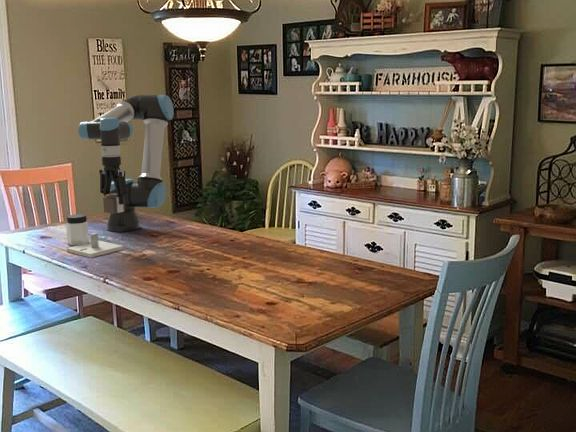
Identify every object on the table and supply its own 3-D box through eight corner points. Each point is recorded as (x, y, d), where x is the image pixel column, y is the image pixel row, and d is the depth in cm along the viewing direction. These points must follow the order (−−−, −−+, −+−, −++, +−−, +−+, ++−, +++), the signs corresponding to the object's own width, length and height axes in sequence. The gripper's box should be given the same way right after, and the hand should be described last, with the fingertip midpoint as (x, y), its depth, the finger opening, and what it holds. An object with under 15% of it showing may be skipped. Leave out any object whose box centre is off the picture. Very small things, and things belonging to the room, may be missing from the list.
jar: (91, 243, 282) (89, 216, 279) (73, 246, 277) (71, 218, 274) (83, 239, 289) (81, 213, 286) (65, 242, 284) (63, 215, 281)
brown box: (115, 209, 277) (114, 191, 275) (126, 211, 273) (125, 193, 271) (102, 212, 271) (101, 193, 270) (113, 213, 267) (112, 195, 266)
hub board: (99, 243, 280) (98, 228, 279) (123, 249, 271) (122, 232, 269) (66, 251, 268) (65, 235, 266) (90, 257, 258) (89, 240, 257)
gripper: (88, 155, 270) (92, 210, 275) (119, 158, 259) (123, 215, 263) (103, 154, 276) (106, 207, 281) (134, 156, 265) (137, 212, 269)
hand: (114, 211), depth 272 cm, fingers closed on brown box, 6 cm apart
